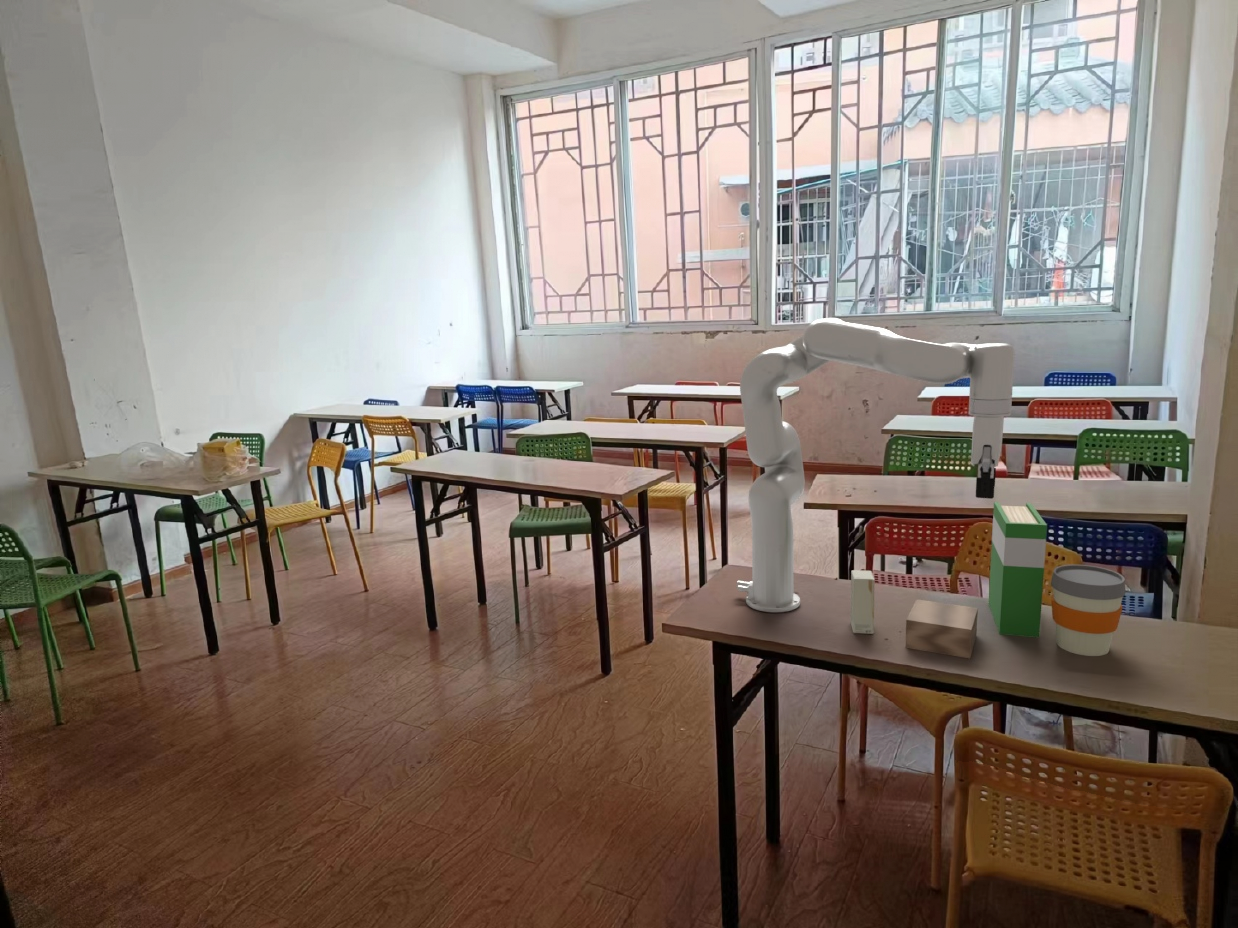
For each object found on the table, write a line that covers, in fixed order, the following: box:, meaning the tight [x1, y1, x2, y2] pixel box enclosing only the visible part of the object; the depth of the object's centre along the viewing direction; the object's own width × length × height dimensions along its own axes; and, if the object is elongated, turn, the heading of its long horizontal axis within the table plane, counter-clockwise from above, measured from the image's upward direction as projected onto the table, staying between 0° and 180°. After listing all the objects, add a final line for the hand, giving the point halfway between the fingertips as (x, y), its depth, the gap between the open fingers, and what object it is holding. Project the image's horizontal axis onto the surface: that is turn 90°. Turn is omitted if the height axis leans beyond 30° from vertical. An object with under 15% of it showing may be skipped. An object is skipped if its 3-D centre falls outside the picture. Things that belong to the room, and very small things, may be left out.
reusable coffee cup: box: [1050, 564, 1126, 657], centre depth 151 cm, size 12×13×15 cm
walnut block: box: [905, 598, 979, 660], centre depth 157 cm, size 12×12×6 cm
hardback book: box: [988, 501, 1048, 638], centre depth 165 cm, size 18×7×24 cm, turn 162°
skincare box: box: [850, 569, 875, 635], centre depth 164 cm, size 6×4×12 cm
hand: (985, 492), depth 153 cm, fingers open, 9 cm apart
